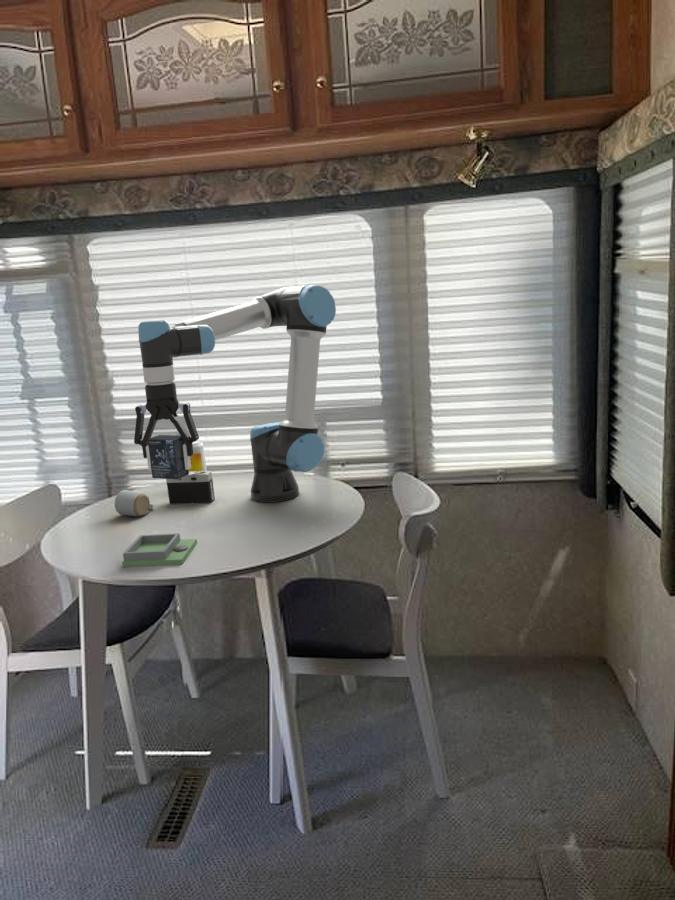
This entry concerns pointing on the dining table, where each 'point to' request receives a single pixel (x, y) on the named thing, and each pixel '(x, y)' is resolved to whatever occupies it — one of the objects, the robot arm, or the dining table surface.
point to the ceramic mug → (132, 503)
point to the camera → (191, 488)
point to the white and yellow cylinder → (198, 457)
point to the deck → (158, 550)
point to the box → (167, 457)
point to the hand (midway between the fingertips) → (170, 469)
